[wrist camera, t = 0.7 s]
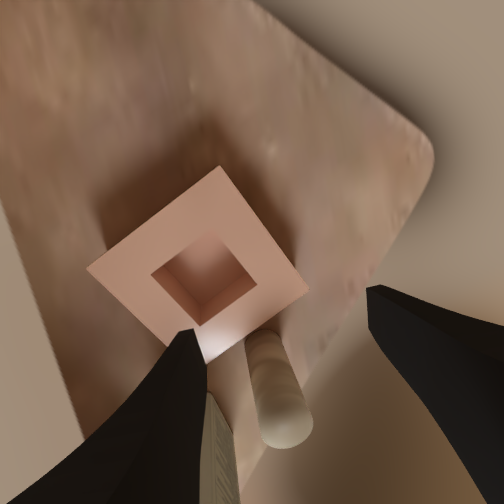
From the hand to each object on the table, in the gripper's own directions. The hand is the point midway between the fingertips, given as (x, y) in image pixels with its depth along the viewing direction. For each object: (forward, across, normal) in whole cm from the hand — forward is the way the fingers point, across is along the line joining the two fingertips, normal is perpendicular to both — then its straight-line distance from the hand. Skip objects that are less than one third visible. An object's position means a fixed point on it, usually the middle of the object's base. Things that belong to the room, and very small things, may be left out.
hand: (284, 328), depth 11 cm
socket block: (+10, +4, 0) cm, 11 cm away
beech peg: (+10, +1, +9) cm, 14 cm away
